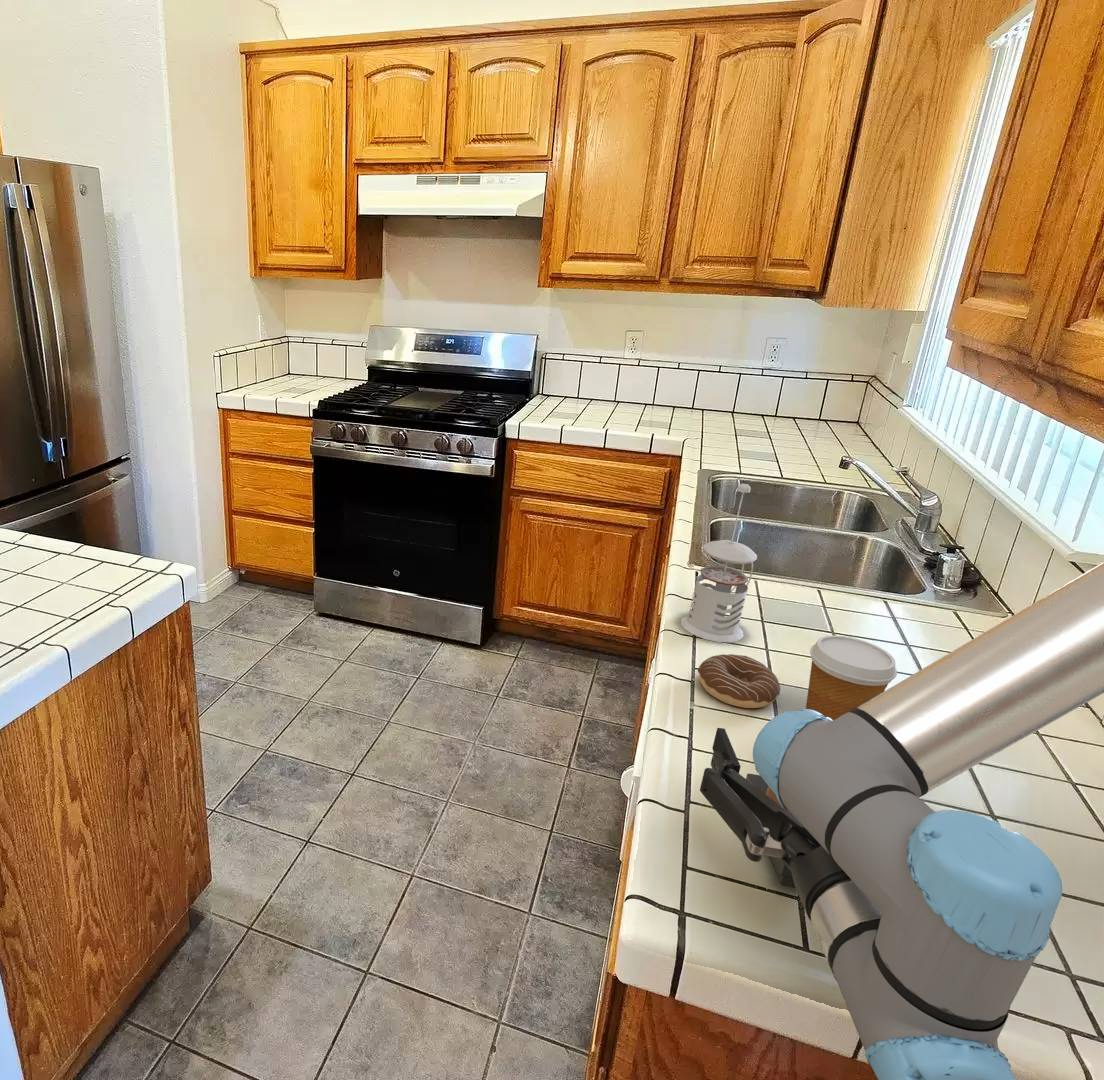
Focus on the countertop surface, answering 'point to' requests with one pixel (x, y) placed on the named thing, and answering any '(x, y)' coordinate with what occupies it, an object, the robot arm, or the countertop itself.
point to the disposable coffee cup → (846, 674)
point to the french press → (721, 590)
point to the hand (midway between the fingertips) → (774, 746)
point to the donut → (739, 680)
